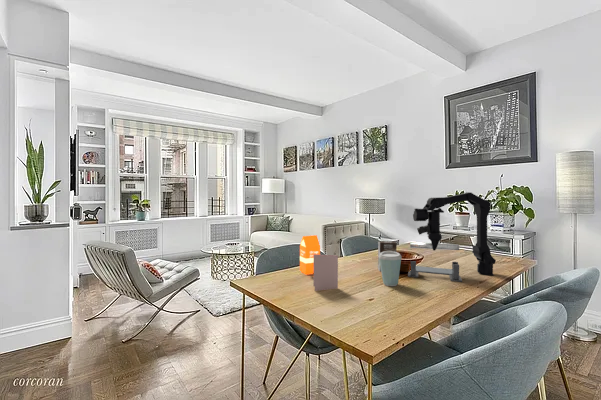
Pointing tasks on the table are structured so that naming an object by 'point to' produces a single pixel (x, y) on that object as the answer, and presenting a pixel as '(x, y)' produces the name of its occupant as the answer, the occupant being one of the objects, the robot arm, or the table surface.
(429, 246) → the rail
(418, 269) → the grey plate
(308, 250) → the orange juice
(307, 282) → the table surface
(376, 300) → the table surface
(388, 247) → the coffee box
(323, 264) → the greeting card
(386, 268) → the disposable coffee cup
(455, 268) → the dark grey notched cradle
